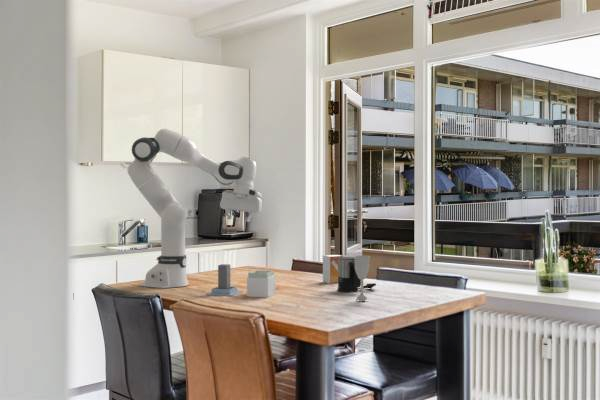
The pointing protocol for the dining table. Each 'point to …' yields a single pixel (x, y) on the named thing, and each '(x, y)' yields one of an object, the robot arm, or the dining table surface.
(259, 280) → the block
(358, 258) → the chalice
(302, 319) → the dining table surface
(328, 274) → the small box
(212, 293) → the floor socket
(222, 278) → the plug block
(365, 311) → the dining table surface
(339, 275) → the milk frother
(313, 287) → the dining table surface
